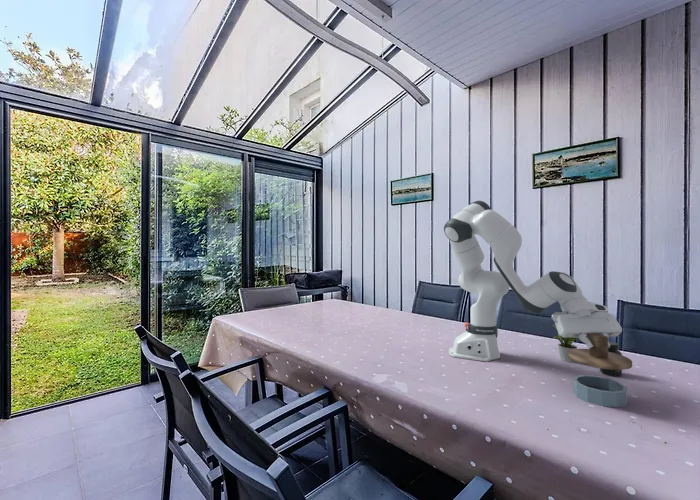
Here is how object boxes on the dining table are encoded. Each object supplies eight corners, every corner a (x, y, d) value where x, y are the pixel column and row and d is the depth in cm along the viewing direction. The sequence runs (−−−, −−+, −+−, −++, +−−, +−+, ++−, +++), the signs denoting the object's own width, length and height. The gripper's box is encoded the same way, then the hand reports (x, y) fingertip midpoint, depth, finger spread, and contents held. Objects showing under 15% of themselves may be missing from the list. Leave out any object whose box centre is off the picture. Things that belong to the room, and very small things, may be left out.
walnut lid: (592, 370, 101) (592, 343, 101) (556, 352, 118) (556, 329, 118) (647, 369, 101) (647, 342, 101) (603, 351, 118) (603, 328, 118)
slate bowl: (583, 404, 105) (583, 389, 105) (567, 386, 119) (567, 373, 119) (636, 409, 101) (636, 394, 101) (613, 390, 115) (613, 377, 115)
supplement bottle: (595, 370, 133) (595, 340, 133) (611, 370, 133) (611, 340, 133) (610, 377, 126) (610, 345, 126) (626, 376, 126) (626, 345, 126)
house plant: (597, 368, 135) (596, 328, 135) (559, 366, 138) (559, 326, 138) (580, 356, 149) (580, 320, 149) (546, 355, 152) (546, 319, 152)
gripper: (553, 307, 116) (573, 343, 107) (611, 306, 117) (635, 342, 107) (546, 317, 121) (564, 352, 111) (601, 316, 121) (624, 351, 112)
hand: (599, 347), depth 109 cm, fingers closed on walnut lid, 3 cm apart
